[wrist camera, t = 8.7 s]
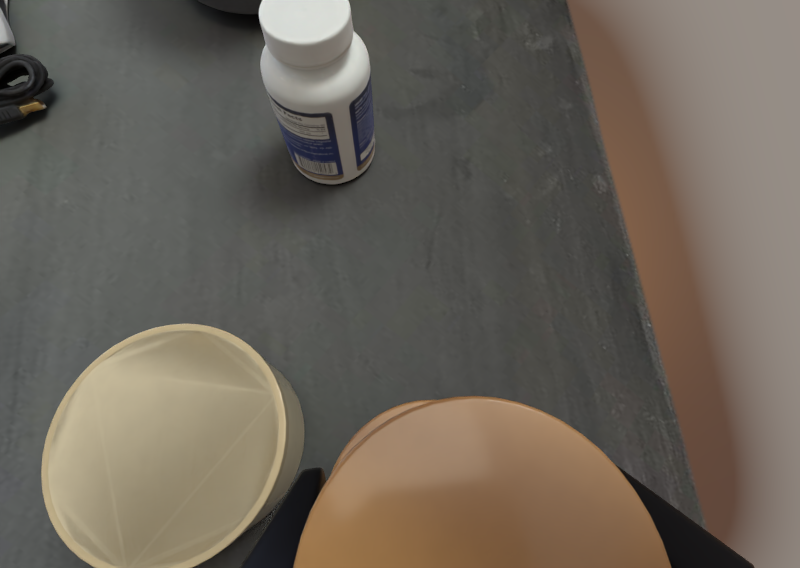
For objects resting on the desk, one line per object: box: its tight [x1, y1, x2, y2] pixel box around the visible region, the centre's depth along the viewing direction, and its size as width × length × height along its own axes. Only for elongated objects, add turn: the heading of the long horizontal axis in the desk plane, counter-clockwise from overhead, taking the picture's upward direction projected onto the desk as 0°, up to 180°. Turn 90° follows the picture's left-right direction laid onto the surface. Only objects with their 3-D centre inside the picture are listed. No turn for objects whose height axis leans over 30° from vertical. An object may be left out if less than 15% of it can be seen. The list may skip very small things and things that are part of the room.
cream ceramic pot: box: [41, 324, 304, 568], centre depth 19 cm, size 9×9×5 cm
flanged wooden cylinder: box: [293, 396, 671, 568], centre depth 9 cm, size 6×6×8 cm
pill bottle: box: [259, 0, 375, 184], centre depth 23 cm, size 5×5×10 cm
